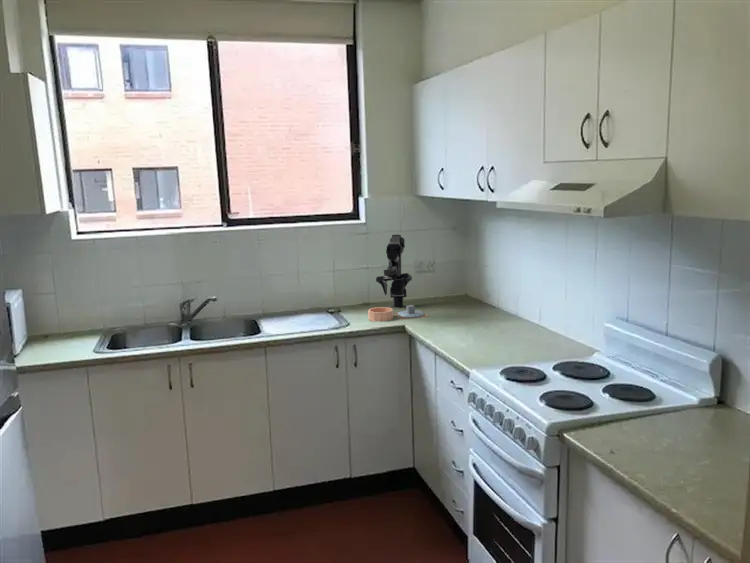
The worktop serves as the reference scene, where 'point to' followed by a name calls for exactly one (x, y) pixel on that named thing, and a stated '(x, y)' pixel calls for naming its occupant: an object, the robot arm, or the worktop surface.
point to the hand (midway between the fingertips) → (393, 294)
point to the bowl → (380, 314)
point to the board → (410, 318)
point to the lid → (410, 312)
